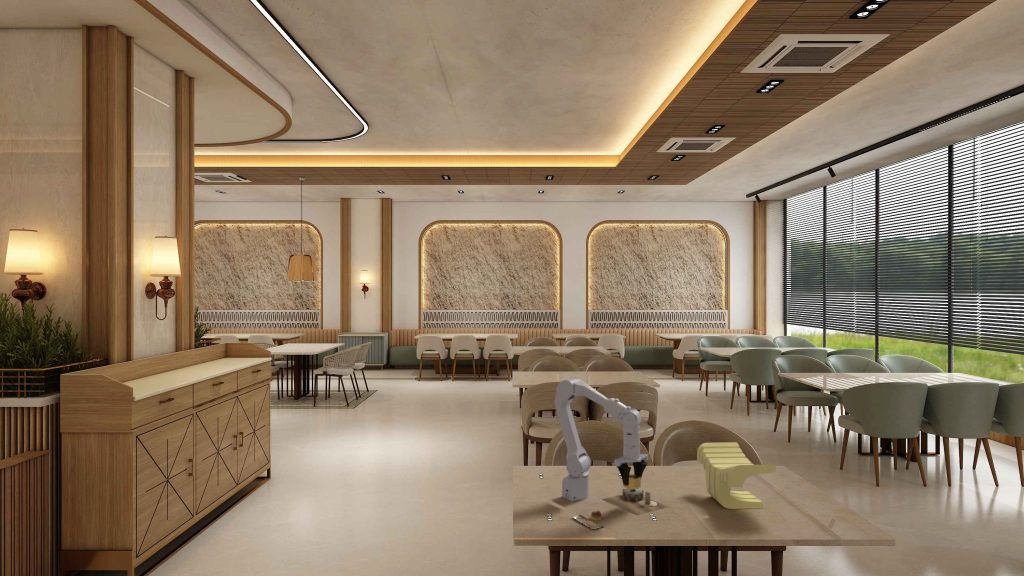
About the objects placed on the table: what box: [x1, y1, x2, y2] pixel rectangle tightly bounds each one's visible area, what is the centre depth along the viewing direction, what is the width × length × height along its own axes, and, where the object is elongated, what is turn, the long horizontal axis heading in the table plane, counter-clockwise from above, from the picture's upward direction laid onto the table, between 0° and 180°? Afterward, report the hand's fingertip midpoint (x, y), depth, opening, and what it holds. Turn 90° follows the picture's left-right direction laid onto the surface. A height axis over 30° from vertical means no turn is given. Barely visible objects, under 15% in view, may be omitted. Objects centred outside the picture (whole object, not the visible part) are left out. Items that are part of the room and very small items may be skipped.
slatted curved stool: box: [696, 441, 777, 510], centre depth 217 cm, size 30×16×18 cm, turn 3°
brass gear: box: [622, 473, 642, 489], centre depth 210 cm, size 5×5×4 cm
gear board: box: [601, 487, 669, 516], centre depth 213 cm, size 15×18×5 cm
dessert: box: [571, 508, 604, 530], centre depth 199 cm, size 12×12×5 cm
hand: (631, 483), depth 210 cm, fingers closed on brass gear, 5 cm apart
